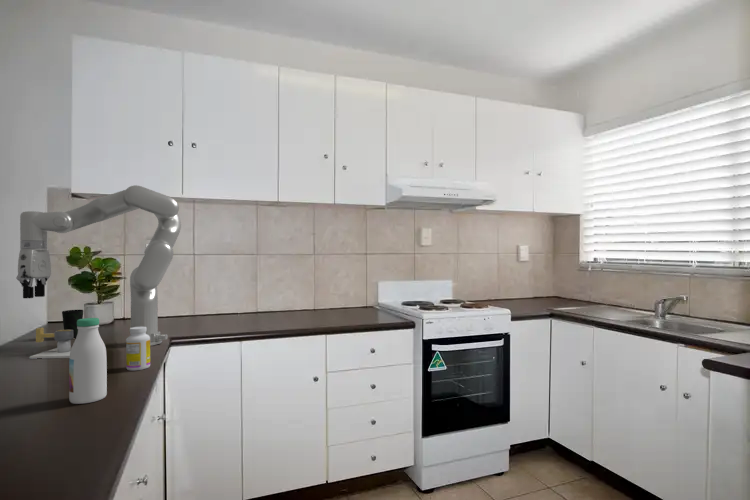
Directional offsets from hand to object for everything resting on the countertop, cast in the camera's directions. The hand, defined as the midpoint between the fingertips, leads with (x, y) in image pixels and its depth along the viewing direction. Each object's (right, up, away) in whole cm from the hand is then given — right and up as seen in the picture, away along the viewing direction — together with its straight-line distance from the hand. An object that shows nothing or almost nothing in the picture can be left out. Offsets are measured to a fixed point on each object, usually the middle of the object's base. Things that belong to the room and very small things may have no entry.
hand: (34, 296), depth 149 cm
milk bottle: (+50, -21, -45) cm, 71 cm away
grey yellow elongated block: (+4, -17, +4) cm, 18 cm away
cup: (-10, -22, +34) cm, 41 cm away
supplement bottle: (+47, -21, -17) cm, 54 cm away
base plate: (+7, -21, +5) cm, 23 cm away
